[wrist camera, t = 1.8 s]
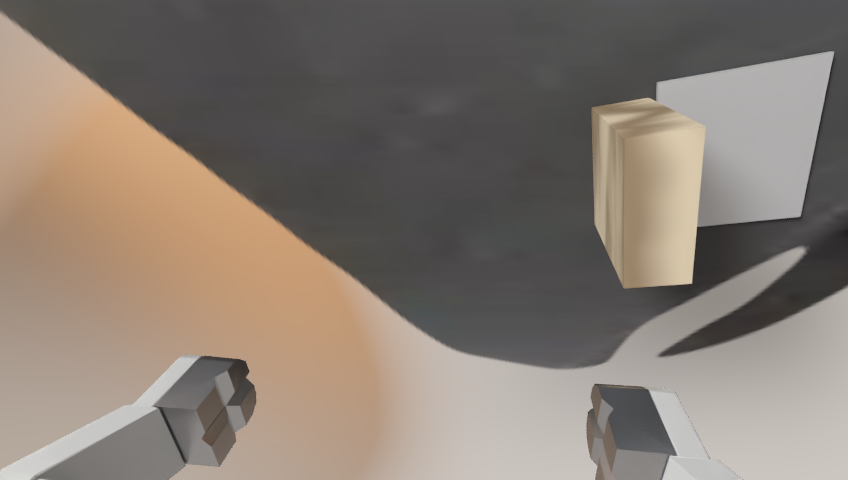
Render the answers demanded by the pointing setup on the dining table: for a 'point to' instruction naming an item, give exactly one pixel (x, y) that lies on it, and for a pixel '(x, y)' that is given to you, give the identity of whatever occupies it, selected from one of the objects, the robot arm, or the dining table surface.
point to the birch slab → (647, 190)
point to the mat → (754, 135)
